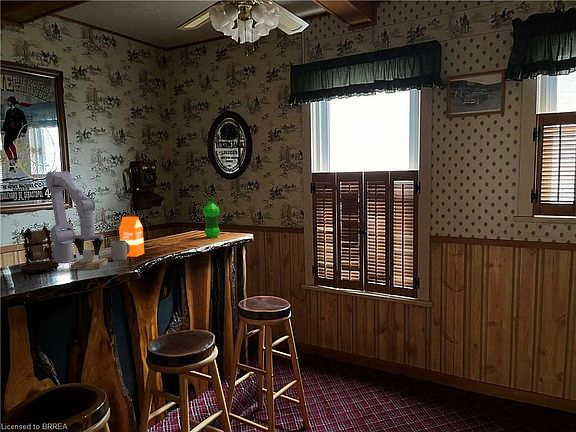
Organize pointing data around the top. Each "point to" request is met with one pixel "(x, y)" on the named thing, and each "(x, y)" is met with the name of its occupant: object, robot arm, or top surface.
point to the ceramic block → (89, 255)
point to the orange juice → (132, 235)
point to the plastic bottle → (211, 219)
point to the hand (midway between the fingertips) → (89, 254)
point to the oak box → (90, 264)
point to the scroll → (38, 251)
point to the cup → (119, 250)
